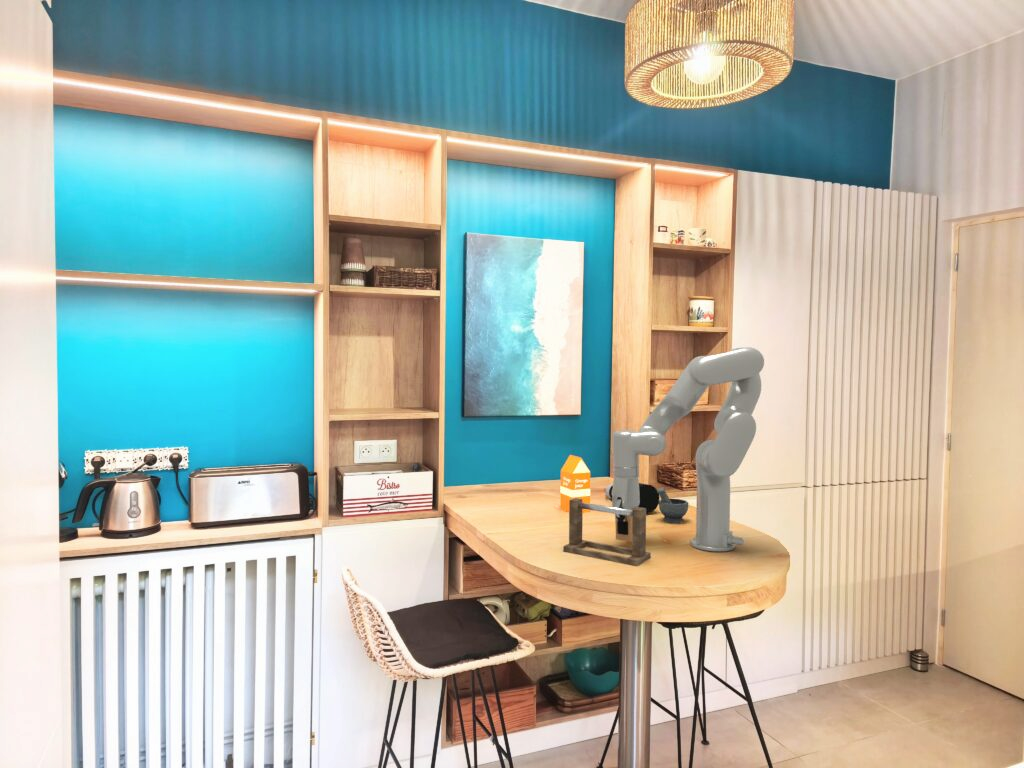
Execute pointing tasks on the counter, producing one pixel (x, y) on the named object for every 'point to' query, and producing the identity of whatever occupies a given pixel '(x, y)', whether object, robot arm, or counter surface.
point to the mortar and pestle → (672, 507)
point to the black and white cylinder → (642, 496)
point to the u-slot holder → (629, 535)
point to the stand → (577, 544)
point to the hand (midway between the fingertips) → (627, 530)
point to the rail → (605, 509)
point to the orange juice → (575, 482)
